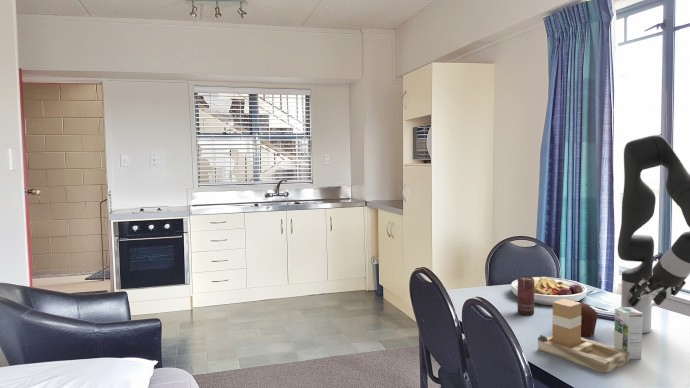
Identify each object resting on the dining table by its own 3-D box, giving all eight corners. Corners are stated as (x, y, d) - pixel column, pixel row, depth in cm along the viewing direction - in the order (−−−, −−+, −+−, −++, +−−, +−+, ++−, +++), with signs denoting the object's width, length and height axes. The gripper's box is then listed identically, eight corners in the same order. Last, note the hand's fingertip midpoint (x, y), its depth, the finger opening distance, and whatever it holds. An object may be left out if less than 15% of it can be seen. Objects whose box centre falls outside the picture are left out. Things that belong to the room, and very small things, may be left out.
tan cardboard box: (563, 343, 170) (563, 298, 168) (580, 349, 165) (581, 303, 163) (552, 348, 166) (552, 302, 165) (569, 354, 161) (570, 306, 160)
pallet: (561, 340, 174) (561, 326, 174) (628, 361, 156) (629, 346, 155) (537, 349, 167) (537, 335, 166) (605, 373, 149) (605, 357, 148)
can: (517, 315, 200) (517, 279, 199) (518, 310, 206) (518, 275, 205) (533, 316, 198) (534, 280, 197) (534, 311, 204) (534, 276, 202)
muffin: (603, 332, 180) (603, 304, 179) (590, 341, 172) (591, 311, 172) (568, 324, 189) (569, 297, 188) (555, 332, 181) (555, 304, 180)
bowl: (497, 297, 224) (497, 279, 224) (532, 284, 244) (532, 267, 244) (566, 313, 202) (566, 293, 201) (598, 296, 222) (599, 278, 221)
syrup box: (612, 352, 163) (613, 307, 161) (630, 351, 163) (631, 306, 162) (623, 360, 157) (625, 313, 156) (642, 358, 158) (643, 312, 156)
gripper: (687, 254, 144) (656, 291, 154) (644, 255, 140) (615, 294, 150) (706, 275, 138) (672, 312, 148) (662, 277, 135) (630, 315, 145)
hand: (643, 303), depth 149 cm, fingers open, 8 cm apart
